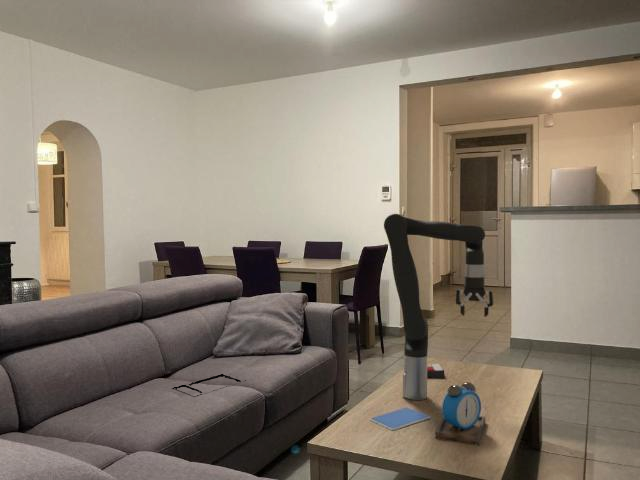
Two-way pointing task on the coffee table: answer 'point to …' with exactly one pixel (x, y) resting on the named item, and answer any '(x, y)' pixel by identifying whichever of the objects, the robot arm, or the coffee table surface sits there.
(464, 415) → the alarm clock
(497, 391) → the coffee table surface
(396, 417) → the blue notebook
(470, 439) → the tray
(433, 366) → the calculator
